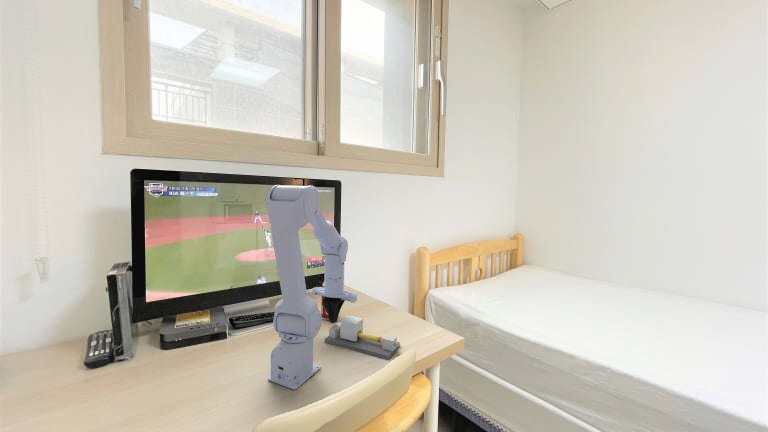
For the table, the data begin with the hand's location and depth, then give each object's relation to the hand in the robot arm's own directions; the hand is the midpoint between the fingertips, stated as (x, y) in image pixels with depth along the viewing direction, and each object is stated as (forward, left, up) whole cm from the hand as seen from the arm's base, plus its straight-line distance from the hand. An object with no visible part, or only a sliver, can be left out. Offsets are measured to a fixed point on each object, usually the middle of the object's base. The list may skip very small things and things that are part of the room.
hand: (333, 321), depth 89 cm
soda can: (+11, +9, -5) cm, 15 cm away
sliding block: (0, -6, -3) cm, 7 cm away
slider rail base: (0, -10, -4) cm, 11 cm away
